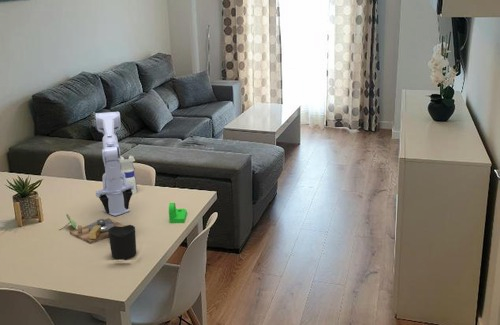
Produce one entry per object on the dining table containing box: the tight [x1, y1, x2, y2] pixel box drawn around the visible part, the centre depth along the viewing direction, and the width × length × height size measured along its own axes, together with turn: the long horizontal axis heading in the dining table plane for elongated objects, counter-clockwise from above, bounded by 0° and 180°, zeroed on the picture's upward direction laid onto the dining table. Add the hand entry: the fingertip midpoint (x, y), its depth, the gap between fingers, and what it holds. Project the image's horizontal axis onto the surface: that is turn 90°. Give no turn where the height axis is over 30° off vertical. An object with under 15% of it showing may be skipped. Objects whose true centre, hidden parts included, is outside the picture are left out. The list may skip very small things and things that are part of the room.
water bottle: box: [118, 142, 138, 196], centre depth 259 cm, size 8×9×25 cm
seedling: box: [59, 213, 78, 231], centre depth 224 cm, size 7×8×7 cm
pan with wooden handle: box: [88, 218, 114, 239], centre depth 219 cm, size 16×10×3 cm, turn 177°
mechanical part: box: [168, 202, 188, 224], centre depth 233 cm, size 12×6×8 cm, turn 179°
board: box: [69, 218, 127, 245], centre depth 221 cm, size 15×18×4 cm
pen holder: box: [108, 224, 137, 261], centre depth 199 cm, size 9×9×10 cm
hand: (117, 210), depth 214 cm, fingers open, 7 cm apart
